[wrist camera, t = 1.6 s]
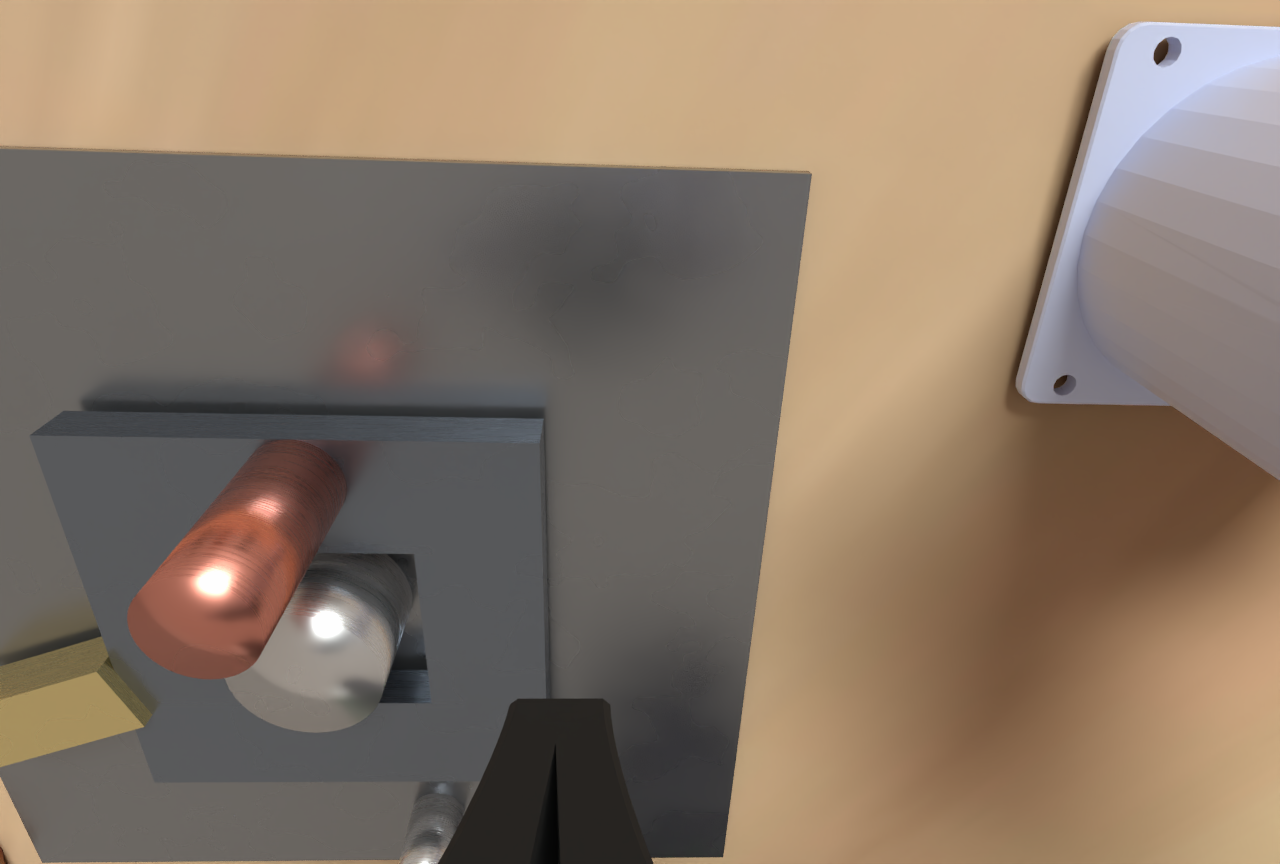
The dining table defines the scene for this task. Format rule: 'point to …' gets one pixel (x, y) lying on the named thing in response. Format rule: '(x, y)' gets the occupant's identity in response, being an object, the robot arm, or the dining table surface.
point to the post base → (414, 387)
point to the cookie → (2, 857)
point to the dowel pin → (431, 828)
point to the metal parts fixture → (286, 586)
